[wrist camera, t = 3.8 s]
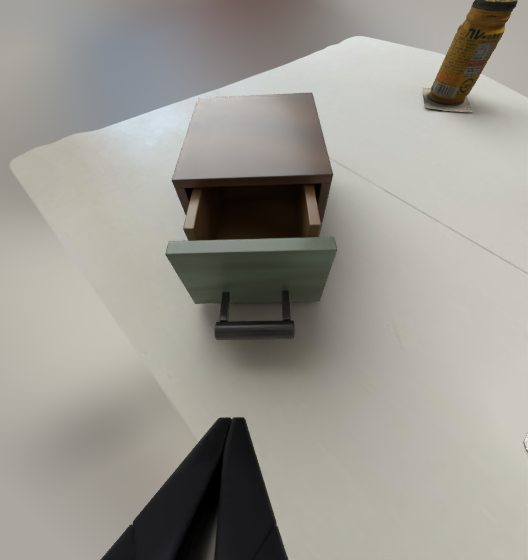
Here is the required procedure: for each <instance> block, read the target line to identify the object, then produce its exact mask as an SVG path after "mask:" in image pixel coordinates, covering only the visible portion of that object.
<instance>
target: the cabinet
mask: <svg viewBox="0 0 528 560" xmlns="http://www.w3.org/2000/svg"><path fill="white" fill-rule="evenodd" d="M332 177H333V172H332V168H331V164H330V160H329V157H328V153H327V149H326V145H325V141H324V137H323V133H322V129H321V125H320V121H319V117H318V113H317V109H316V105H315V101H314V97H313V94H312V93H295V94H273V95H251V96H229V97H207V98H198V100H197V103H196V106H195V109H194V112H193V115H192V118H191V122H190V125H189V128H188V131H187V134H186V137H185V140H184V143H183V146H182V150H181V153H180V156H179V159H178V162H177V165H176V168H175V171H174V174H173V178H172V182H173V185H174V187H175V190H176V192H177V195H178V197H179V199H180V202H181V204H182V207H183V209H184V212H185V214H186V215H187V211H188V207H189V203H190V198H191V194H192V190H193V188H200V187H229V186H258V185H286V184H314V189H315V195H316V200H317V206H318V212H319V217H320V223H321V226H322V222H323V217H324V213H325V208H326V204H327V199H328V195H329V190H330V186H331V182H332ZM321 226H320V231H321ZM320 231H319V235H320ZM319 235H318V237H319Z"/></svg>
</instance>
